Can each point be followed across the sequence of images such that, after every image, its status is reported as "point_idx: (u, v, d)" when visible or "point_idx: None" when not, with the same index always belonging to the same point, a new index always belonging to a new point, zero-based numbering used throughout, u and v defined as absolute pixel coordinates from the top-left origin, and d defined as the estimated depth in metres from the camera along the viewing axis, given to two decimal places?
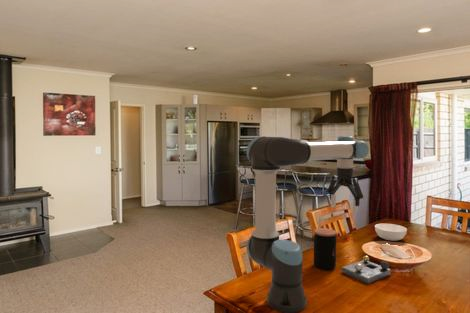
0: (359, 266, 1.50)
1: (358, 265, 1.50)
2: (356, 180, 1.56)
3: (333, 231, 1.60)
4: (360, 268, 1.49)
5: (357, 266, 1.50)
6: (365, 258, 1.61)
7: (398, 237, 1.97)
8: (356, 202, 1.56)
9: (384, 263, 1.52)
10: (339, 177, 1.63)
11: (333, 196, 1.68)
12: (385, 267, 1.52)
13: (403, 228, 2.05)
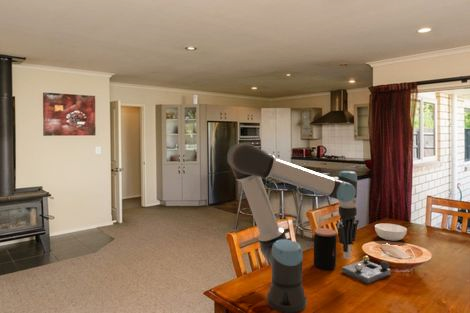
0: (359, 266, 1.50)
1: (358, 265, 1.50)
2: (338, 226, 1.41)
3: (333, 231, 1.60)
4: (360, 268, 1.49)
5: (357, 266, 1.50)
6: (365, 258, 1.61)
7: (398, 237, 1.97)
8: None
9: (384, 263, 1.52)
10: None
11: None
12: (385, 267, 1.52)
13: (403, 228, 2.05)
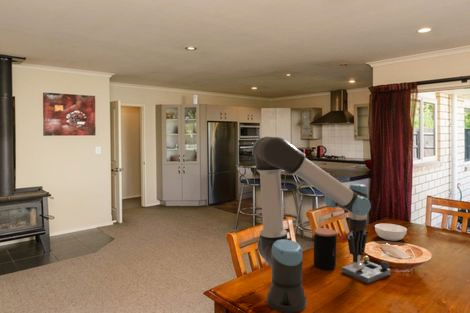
0: (361, 265, 1.50)
1: (360, 264, 1.51)
2: (348, 237, 1.46)
3: (333, 231, 1.60)
4: (361, 267, 1.50)
5: None
6: (365, 258, 1.61)
7: (398, 237, 1.97)
8: None
9: (384, 263, 1.52)
10: None
11: None
12: (385, 267, 1.52)
13: (403, 228, 2.05)
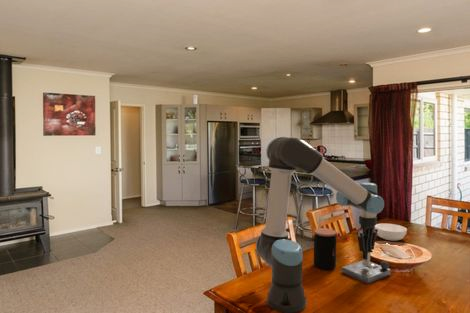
0: (373, 266, 1.55)
1: (372, 265, 1.56)
2: (359, 235, 1.50)
3: (333, 231, 1.60)
4: (374, 268, 1.55)
5: (371, 265, 1.56)
6: None
7: (398, 237, 1.97)
8: None
9: (384, 263, 1.52)
10: None
11: None
12: (385, 267, 1.52)
13: (403, 228, 2.05)
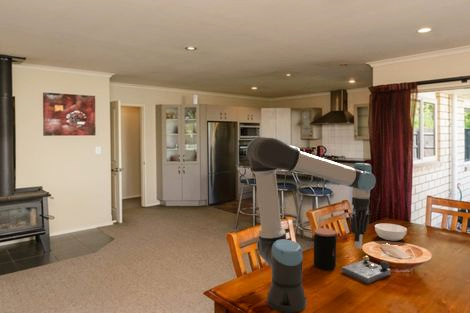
0: (373, 266, 1.55)
1: (372, 265, 1.56)
2: (351, 216, 1.46)
3: (333, 231, 1.60)
4: (374, 268, 1.55)
5: (371, 265, 1.56)
6: (365, 258, 1.61)
7: (398, 237, 1.97)
8: None
9: (384, 263, 1.52)
10: None
11: None
12: (385, 267, 1.52)
13: (403, 228, 2.05)
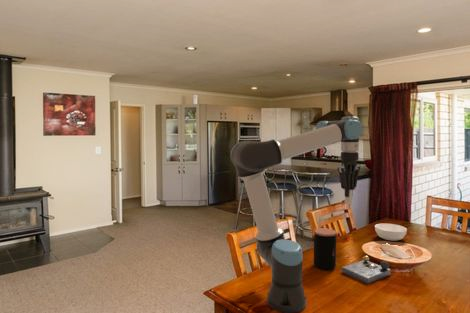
0: (373, 266, 1.55)
1: (372, 265, 1.56)
2: (340, 170, 1.43)
3: (333, 231, 1.60)
4: (373, 268, 1.55)
5: (371, 266, 1.56)
6: (365, 258, 1.61)
7: (398, 237, 1.97)
8: None
9: (384, 263, 1.52)
10: None
11: None
12: (385, 267, 1.52)
13: (403, 228, 2.05)
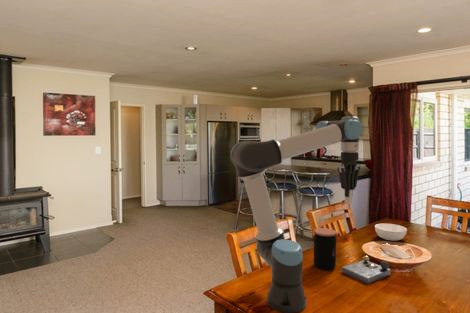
0: (373, 266, 1.55)
1: (372, 265, 1.56)
2: (340, 170, 1.43)
3: (333, 231, 1.60)
4: (373, 268, 1.55)
5: (371, 266, 1.56)
6: (365, 258, 1.61)
7: (398, 237, 1.97)
8: None
9: (384, 263, 1.52)
10: None
11: None
12: (385, 267, 1.52)
13: (403, 228, 2.05)
